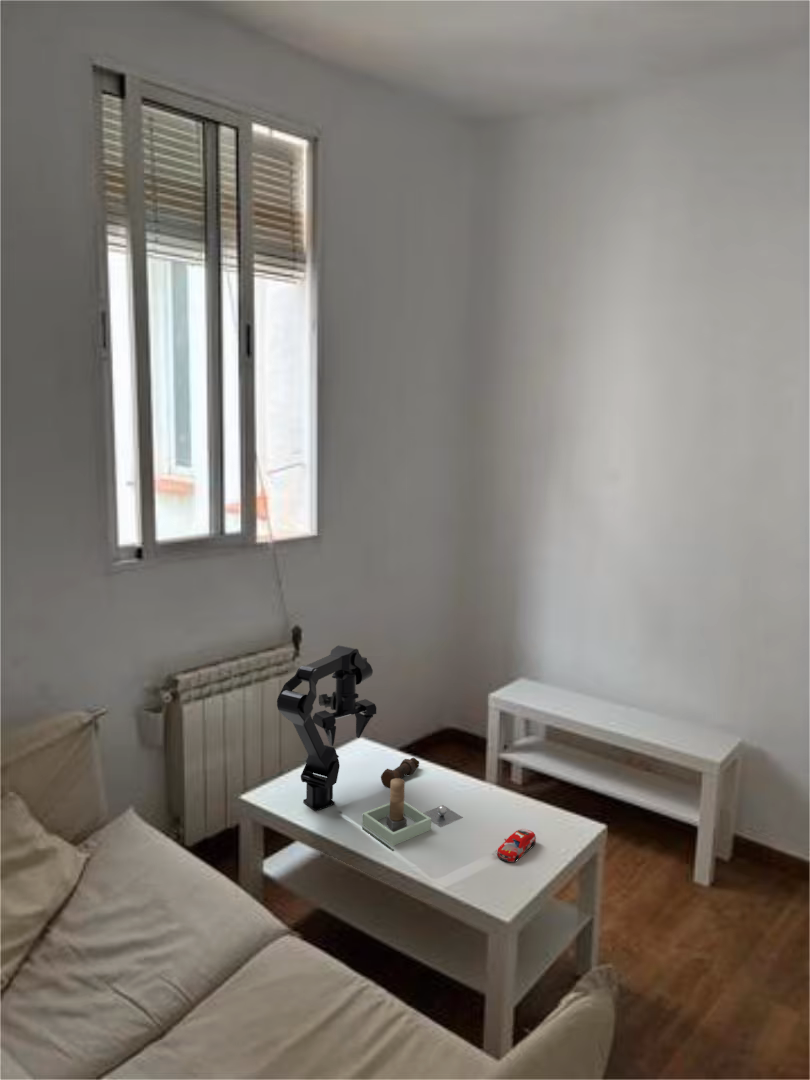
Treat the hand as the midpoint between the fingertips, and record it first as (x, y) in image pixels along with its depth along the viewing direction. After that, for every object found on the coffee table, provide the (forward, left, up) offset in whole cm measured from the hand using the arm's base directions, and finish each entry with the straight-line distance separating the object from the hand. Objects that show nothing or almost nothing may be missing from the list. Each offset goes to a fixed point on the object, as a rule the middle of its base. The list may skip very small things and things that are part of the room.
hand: (344, 741), depth 227 cm
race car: (+15, -53, -14) cm, 57 cm away
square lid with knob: (+9, -32, -13) cm, 36 cm away
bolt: (+16, -7, -14) cm, 22 cm away
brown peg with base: (-4, -29, -12) cm, 32 cm away
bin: (-4, -29, -13) cm, 32 cm away
